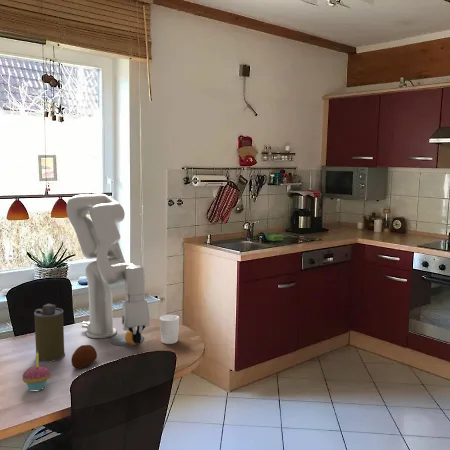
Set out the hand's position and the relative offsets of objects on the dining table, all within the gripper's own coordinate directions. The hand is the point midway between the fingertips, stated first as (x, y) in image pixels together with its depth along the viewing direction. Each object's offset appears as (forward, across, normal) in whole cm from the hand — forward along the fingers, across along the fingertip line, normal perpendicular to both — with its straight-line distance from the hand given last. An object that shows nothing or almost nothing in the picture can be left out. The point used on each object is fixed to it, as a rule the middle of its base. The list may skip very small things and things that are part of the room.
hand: (136, 342), depth 199 cm
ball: (-1, 0, -5) cm, 5 cm away
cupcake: (+3, +41, +17) cm, 44 cm away
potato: (+3, +22, +7) cm, 23 cm away
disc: (+2, 0, -10) cm, 10 cm away
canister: (+2, +32, -8) cm, 33 cm away
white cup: (+3, -14, -1) cm, 14 cm away
